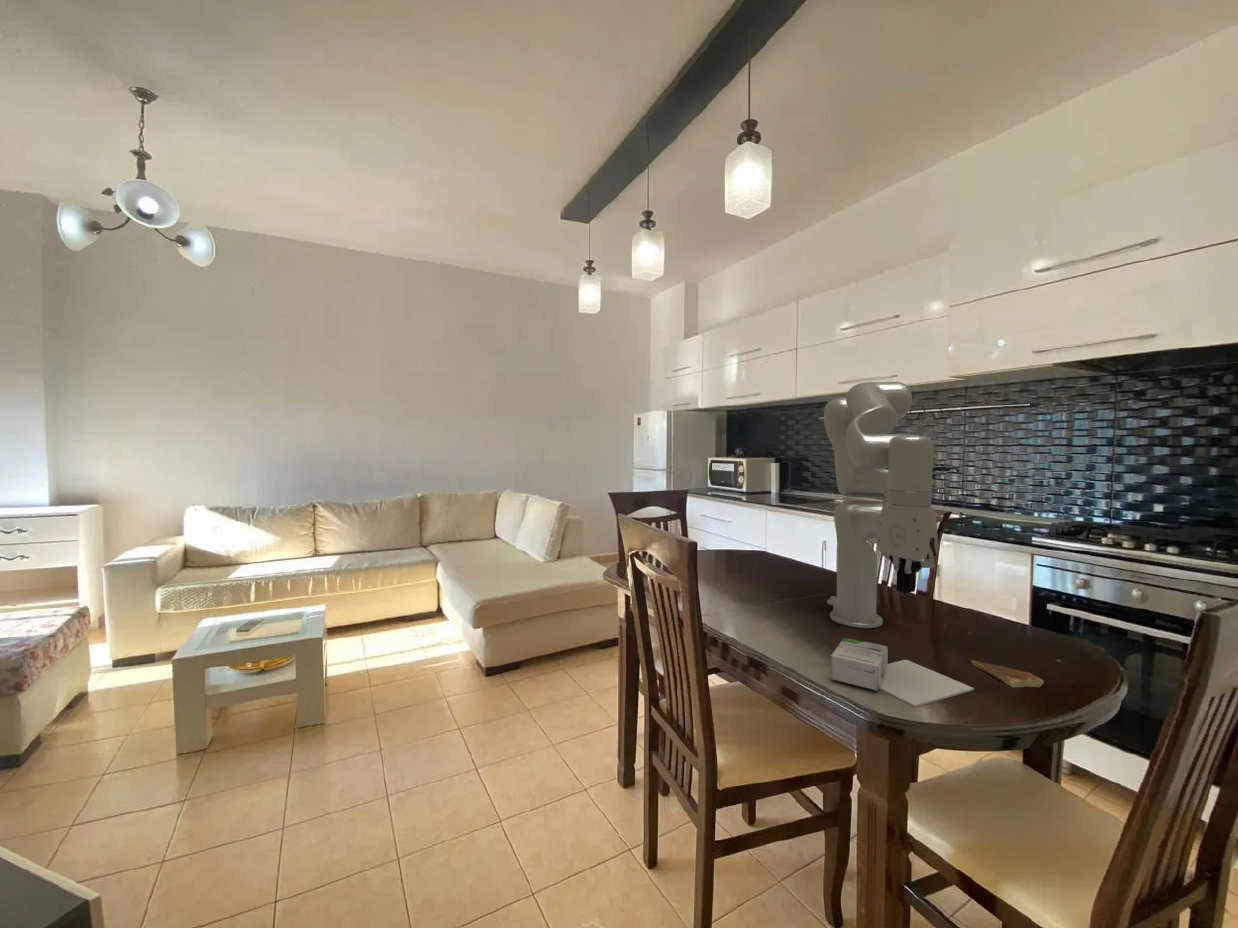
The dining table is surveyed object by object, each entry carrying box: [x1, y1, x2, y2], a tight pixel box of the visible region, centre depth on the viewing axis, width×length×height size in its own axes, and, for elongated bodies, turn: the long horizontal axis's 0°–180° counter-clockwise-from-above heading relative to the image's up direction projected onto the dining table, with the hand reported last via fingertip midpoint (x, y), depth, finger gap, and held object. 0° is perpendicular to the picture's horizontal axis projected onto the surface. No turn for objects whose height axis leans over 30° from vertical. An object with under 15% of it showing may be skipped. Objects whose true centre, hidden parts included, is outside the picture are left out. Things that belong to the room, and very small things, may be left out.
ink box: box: [830, 637, 889, 691], centre depth 102 cm, size 8×5×12 cm
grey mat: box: [878, 659, 975, 708], centre depth 99 cm, size 14×16×1 cm
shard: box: [969, 658, 1045, 688], centre depth 103 cm, size 11×8×2 cm
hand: (905, 591), depth 100 cm, fingers closed
